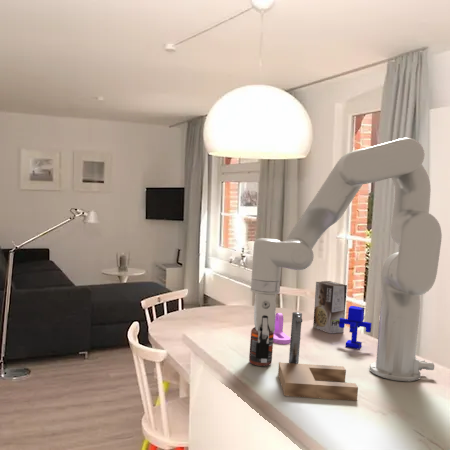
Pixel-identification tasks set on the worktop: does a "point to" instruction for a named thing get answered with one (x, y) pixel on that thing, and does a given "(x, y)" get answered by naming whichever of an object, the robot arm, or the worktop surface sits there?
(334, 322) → the coffee box
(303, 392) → the bay shelf
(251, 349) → the supplement bottle
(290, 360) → the hook post
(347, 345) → the figurine
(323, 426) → the worktop surface
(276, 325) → the bracket
